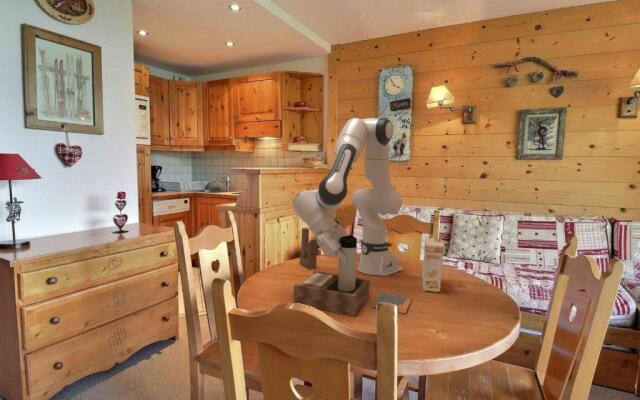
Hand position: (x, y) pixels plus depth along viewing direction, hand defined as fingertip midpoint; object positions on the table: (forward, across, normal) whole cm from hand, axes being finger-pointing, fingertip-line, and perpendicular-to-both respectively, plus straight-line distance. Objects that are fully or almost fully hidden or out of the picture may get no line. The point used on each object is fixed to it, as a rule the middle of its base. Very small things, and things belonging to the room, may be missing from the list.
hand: (349, 258), depth 129 cm
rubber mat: (+23, +7, +1) cm, 24 cm away
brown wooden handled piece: (-10, +34, +34) cm, 50 cm away
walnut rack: (+8, -1, +16) cm, 18 cm away
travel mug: (+8, 0, +9) cm, 12 cm away
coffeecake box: (+31, +33, -6) cm, 46 cm away
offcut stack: (+4, 0, +20) cm, 20 cm away
